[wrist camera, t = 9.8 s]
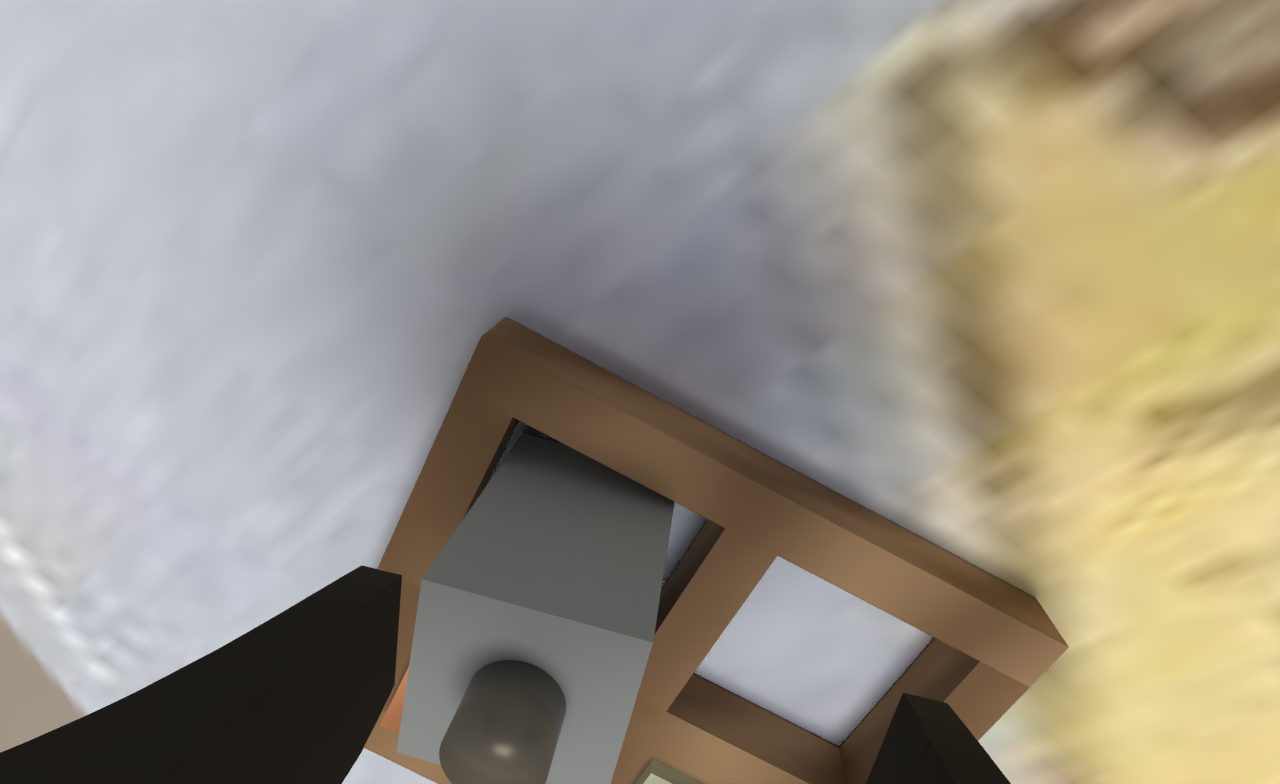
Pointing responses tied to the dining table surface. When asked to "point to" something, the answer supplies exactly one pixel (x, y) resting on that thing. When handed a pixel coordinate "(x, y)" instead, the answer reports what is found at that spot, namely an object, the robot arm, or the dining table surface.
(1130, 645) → the dining table surface
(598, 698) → the plug
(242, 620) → the dining table surface
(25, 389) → the dining table surface
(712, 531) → the socket board
